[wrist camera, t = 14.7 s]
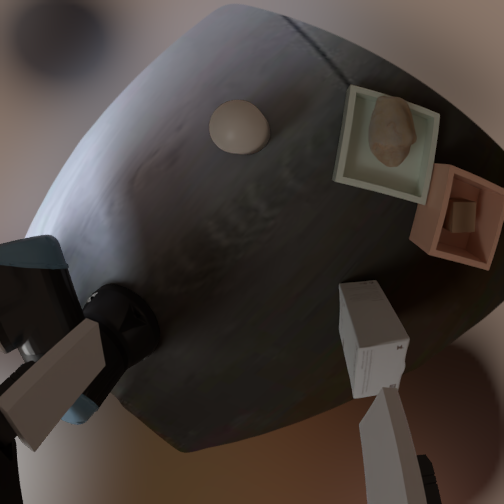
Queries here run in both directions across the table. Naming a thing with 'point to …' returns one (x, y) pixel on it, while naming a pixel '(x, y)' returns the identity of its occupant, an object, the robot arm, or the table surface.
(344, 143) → the green dish
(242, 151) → the beige rounded capsule
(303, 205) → the table surface
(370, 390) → the skincare box
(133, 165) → the table surface
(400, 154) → the stone
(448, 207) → the walnut block
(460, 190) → the pink open box
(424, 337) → the table surface
